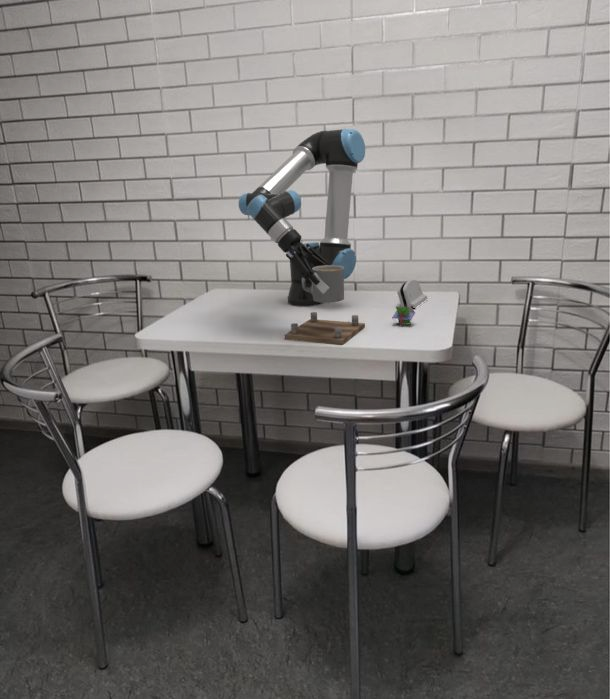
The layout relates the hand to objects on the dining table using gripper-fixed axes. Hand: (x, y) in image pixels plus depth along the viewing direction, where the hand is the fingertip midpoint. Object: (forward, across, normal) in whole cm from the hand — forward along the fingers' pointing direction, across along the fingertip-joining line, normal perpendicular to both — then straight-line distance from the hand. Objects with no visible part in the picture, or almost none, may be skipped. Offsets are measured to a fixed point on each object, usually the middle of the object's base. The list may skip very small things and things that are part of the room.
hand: (332, 287), depth 191 cm
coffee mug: (+1, 0, -5) cm, 5 cm away
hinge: (+20, -46, -2) cm, 51 cm away
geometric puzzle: (+24, -17, +2) cm, 30 cm away
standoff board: (+9, 0, -13) cm, 16 cm away
